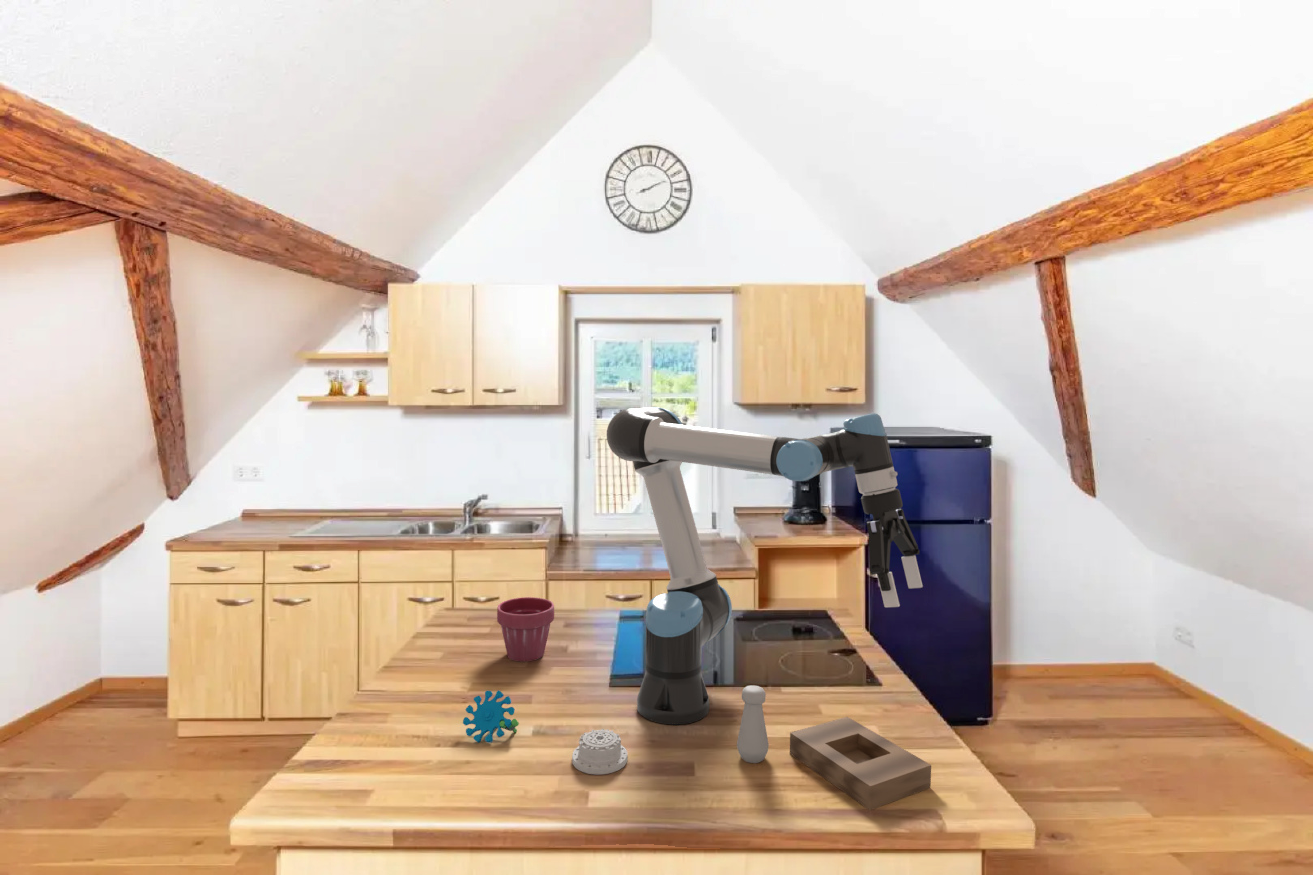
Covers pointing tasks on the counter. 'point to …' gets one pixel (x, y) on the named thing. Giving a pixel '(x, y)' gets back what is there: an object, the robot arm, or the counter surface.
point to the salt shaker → (753, 726)
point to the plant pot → (525, 626)
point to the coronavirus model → (490, 717)
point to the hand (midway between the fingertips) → (904, 597)
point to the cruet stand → (860, 762)
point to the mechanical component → (599, 752)
